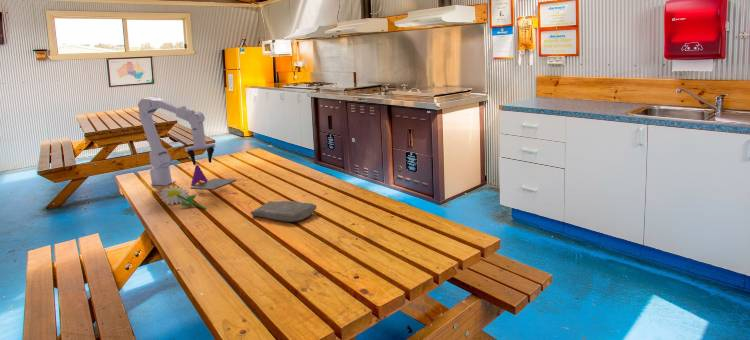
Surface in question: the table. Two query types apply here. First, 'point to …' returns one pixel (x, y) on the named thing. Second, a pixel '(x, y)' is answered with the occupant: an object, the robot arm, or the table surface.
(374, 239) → the table surface
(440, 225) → the table surface
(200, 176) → the arrowhead
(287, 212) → the stone
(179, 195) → the decorative flower
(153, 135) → the robot arm
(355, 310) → the table surface
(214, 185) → the mat
